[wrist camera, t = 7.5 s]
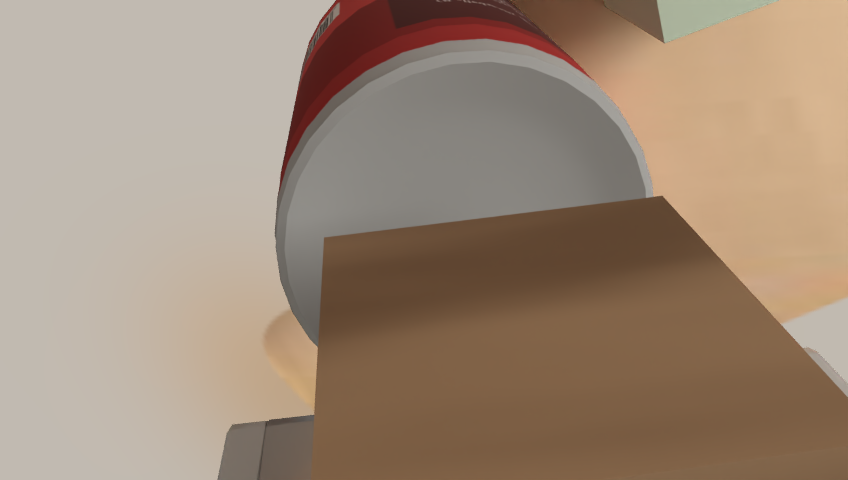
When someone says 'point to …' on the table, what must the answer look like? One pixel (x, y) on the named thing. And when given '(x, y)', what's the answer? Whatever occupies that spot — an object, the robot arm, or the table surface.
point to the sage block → (680, 14)
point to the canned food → (438, 130)
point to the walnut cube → (560, 357)
